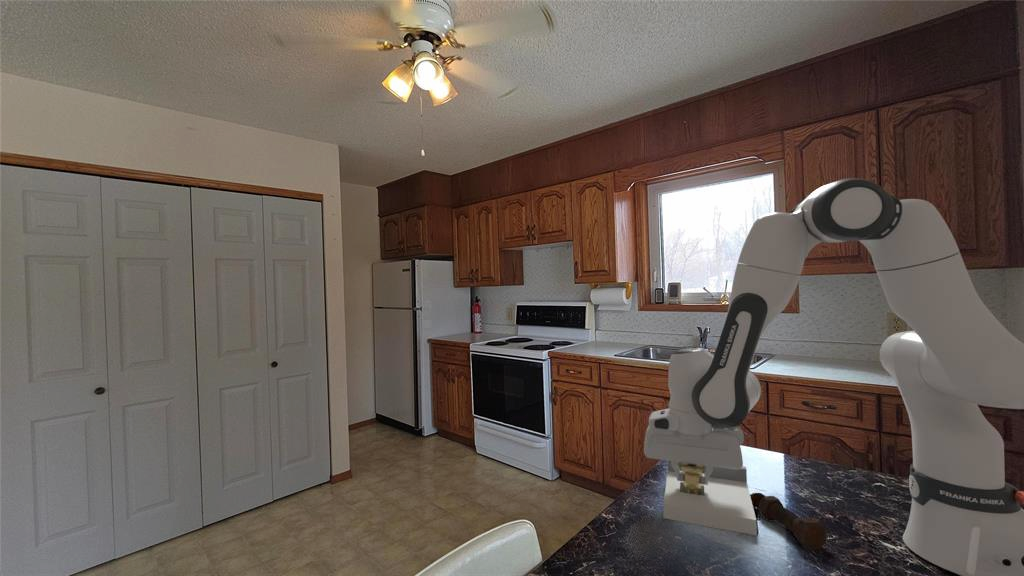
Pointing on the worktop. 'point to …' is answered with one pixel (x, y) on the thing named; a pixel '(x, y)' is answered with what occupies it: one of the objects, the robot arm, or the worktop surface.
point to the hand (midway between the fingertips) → (692, 481)
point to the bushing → (692, 477)
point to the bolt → (791, 521)
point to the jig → (712, 501)
